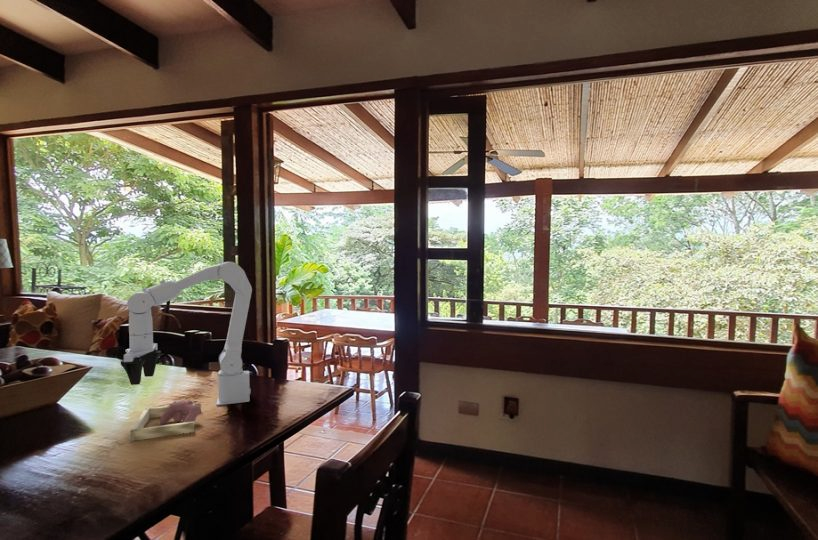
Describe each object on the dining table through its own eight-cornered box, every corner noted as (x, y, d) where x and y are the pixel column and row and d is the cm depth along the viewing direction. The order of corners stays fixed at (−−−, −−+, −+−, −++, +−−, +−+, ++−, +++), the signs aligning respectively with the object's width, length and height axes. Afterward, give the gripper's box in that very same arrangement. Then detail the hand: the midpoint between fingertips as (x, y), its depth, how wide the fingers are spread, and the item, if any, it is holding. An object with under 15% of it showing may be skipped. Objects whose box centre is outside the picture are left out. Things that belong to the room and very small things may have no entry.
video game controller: (197, 430, 110) (206, 403, 113) (184, 428, 106) (193, 401, 109) (169, 425, 114) (179, 399, 116) (156, 423, 110) (166, 397, 112)
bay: (200, 410, 120) (200, 402, 120) (193, 432, 105) (193, 422, 105) (145, 417, 115) (145, 408, 115) (130, 441, 100) (130, 431, 100)
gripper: (139, 329, 124) (140, 373, 124) (111, 339, 109) (112, 388, 110) (164, 328, 125) (165, 372, 125) (139, 338, 110) (140, 387, 111)
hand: (142, 380), depth 118 cm, fingers open, 7 cm apart
